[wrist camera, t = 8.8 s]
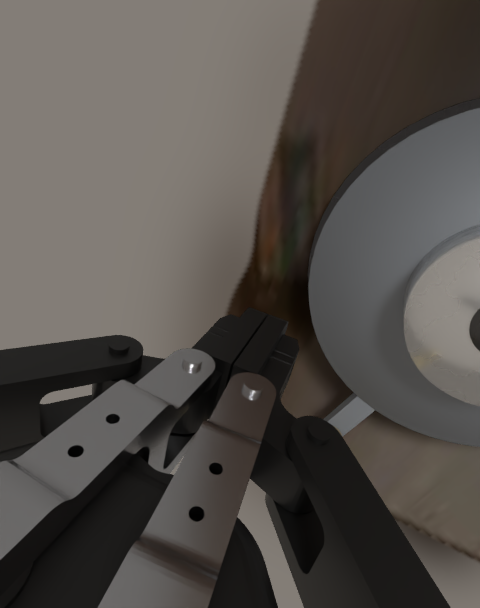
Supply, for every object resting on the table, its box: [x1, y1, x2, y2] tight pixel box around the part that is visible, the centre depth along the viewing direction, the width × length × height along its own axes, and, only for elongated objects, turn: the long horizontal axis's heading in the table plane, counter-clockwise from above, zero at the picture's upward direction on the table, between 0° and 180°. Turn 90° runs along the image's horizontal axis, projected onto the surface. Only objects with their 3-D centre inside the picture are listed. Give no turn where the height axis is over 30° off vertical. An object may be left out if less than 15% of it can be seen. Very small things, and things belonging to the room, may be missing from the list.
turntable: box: [309, 108, 480, 447], centre depth 23 cm, size 26×21×6 cm
